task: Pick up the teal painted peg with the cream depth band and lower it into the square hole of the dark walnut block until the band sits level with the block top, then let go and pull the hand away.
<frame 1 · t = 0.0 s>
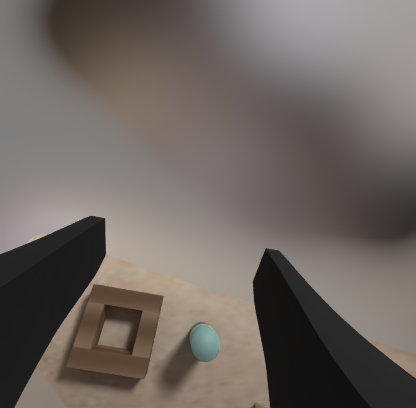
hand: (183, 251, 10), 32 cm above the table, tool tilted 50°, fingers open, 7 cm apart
peg: (201, 335, 37), on the table
stand: (122, 326, 36), on the table
ice cream cone: (255, 404, 35), on the table
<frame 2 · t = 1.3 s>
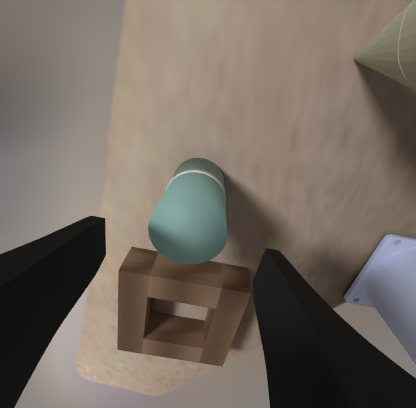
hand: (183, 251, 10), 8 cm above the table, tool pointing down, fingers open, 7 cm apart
peg: (198, 183, 18), on the table
stand: (182, 297, 23), on the table
ice cream cone: (356, 57, 14), on the table
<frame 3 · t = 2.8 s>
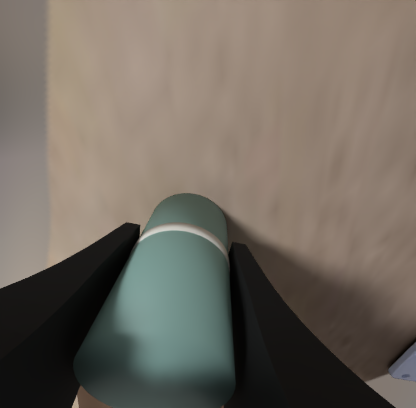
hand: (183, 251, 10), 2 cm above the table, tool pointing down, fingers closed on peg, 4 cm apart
peg: (188, 228, 12), on the table, touching gripper
stand: (170, 365, 18), on the table
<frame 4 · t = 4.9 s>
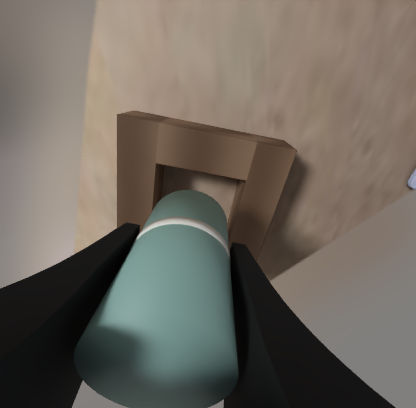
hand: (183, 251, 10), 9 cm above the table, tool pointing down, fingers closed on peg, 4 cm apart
peg: (188, 225, 12), point 7 cm above the table, touching gripper
stand: (198, 194, 19), on the table
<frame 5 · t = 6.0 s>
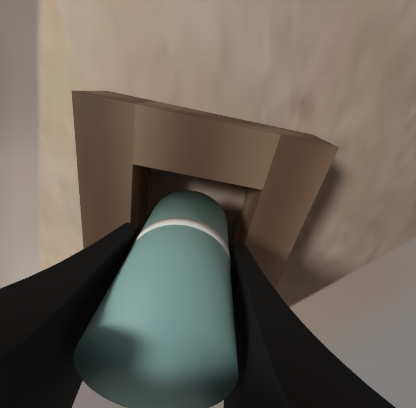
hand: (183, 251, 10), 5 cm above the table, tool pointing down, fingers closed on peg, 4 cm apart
peg: (188, 225, 12), point 3 cm above the table, touching gripper
stand: (194, 204, 14), on the table
when the fingers open (4 cm above the table, at t = 7.0 s): peg drops 2 cm, resting in stand.
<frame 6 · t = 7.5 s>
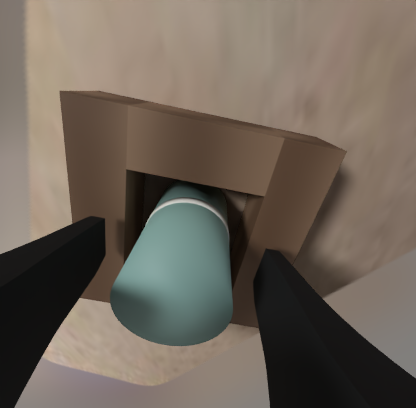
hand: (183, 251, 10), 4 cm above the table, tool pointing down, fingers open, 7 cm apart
peg: (193, 208, 14), resting in stand
stand: (192, 210, 14), on the table
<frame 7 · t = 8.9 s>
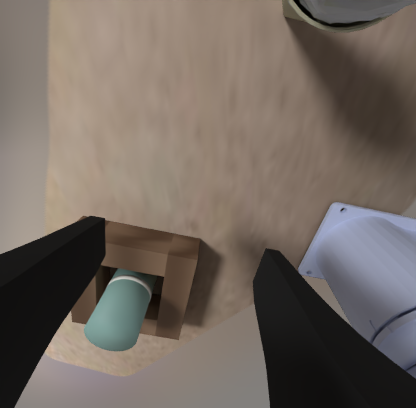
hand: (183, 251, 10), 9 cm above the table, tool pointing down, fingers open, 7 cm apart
peg: (139, 270, 23), resting in stand
stand: (138, 271, 23), on the table
ice cream cone: (286, 12, 14), on the table
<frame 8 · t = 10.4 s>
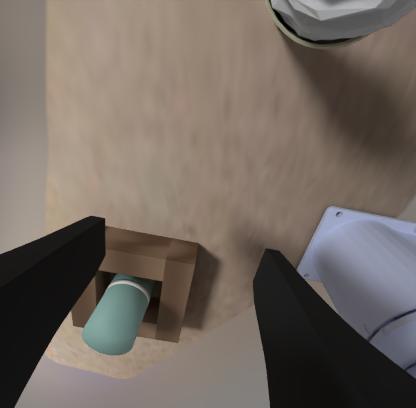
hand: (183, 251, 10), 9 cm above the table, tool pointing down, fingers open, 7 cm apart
peg: (138, 274, 24), resting in stand
stand: (138, 275, 24), on the table
ice cream cone: (278, 22, 14), on the table
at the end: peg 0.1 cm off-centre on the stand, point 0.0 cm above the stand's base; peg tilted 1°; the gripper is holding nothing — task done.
